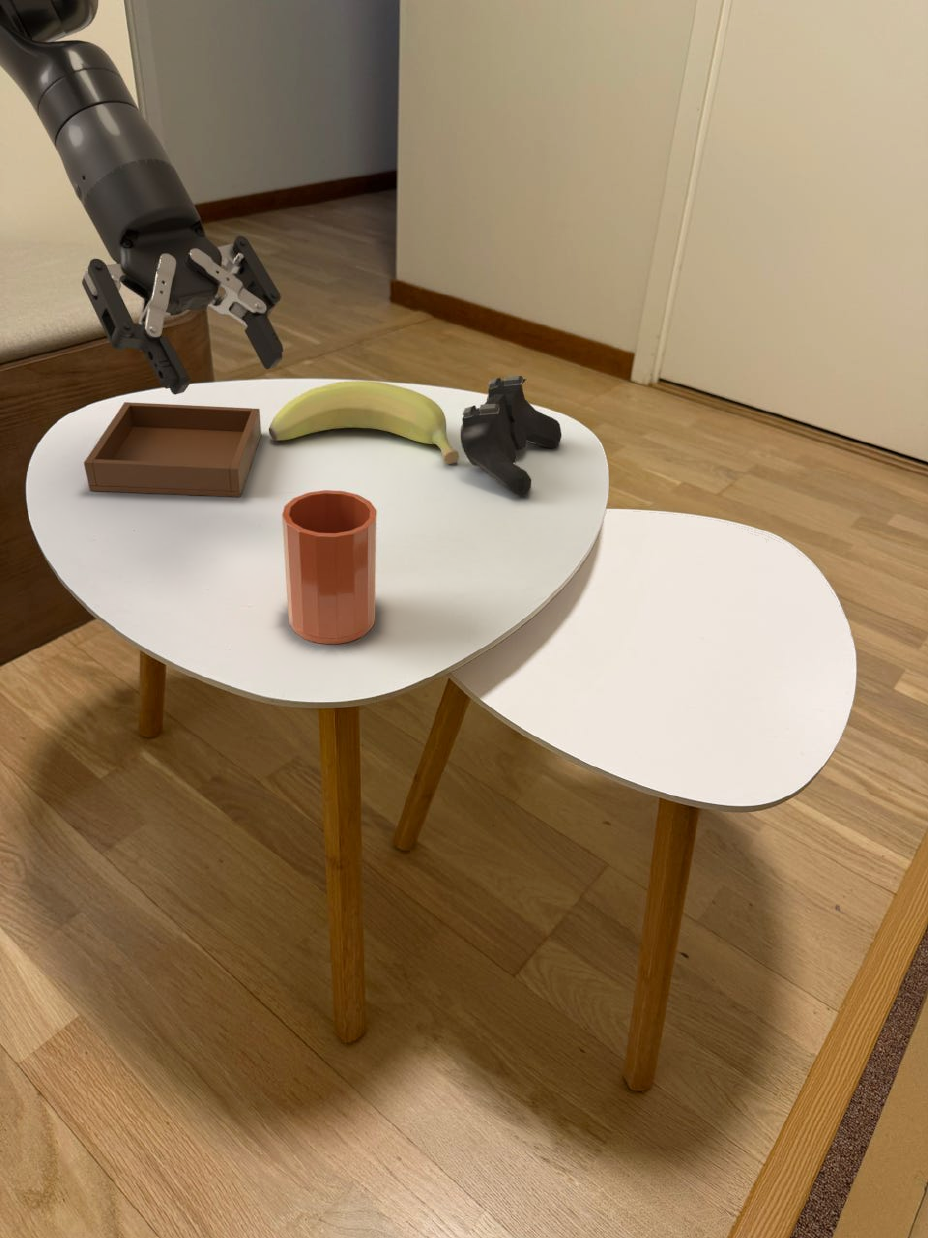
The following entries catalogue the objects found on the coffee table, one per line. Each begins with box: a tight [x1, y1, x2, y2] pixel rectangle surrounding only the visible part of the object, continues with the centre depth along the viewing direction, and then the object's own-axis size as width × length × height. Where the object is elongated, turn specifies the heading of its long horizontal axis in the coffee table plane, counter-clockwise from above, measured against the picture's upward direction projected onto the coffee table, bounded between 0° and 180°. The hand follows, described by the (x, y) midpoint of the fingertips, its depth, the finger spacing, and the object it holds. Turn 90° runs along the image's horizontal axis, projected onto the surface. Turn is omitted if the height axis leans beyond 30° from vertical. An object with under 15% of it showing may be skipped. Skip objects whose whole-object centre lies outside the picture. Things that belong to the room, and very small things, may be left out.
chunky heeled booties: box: [460, 375, 562, 498], centre depth 97 cm, size 16×7×10 cm, turn 161°
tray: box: [83, 401, 262, 498], centre depth 93 cm, size 15×15×3 cm
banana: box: [268, 380, 460, 465], centre depth 99 cm, size 14×6×20 cm
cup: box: [281, 489, 378, 645], centre depth 70 cm, size 7×7×10 cm
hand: (230, 376), depth 69 cm, fingers open, 8 cm apart
